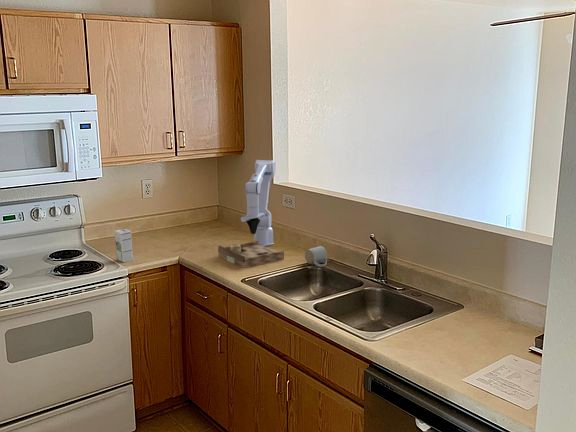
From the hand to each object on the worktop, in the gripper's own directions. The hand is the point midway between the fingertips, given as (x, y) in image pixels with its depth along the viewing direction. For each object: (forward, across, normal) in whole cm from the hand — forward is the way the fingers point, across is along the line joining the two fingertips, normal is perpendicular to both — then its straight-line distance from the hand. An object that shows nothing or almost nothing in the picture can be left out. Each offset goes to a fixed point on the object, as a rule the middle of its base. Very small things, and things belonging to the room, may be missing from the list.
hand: (253, 233), depth 281 cm
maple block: (+7, +13, +2) cm, 15 cm away
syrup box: (+10, +50, -36) cm, 62 cm away
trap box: (+10, +6, +5) cm, 13 cm away
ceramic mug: (+10, -8, +34) cm, 37 cm away
